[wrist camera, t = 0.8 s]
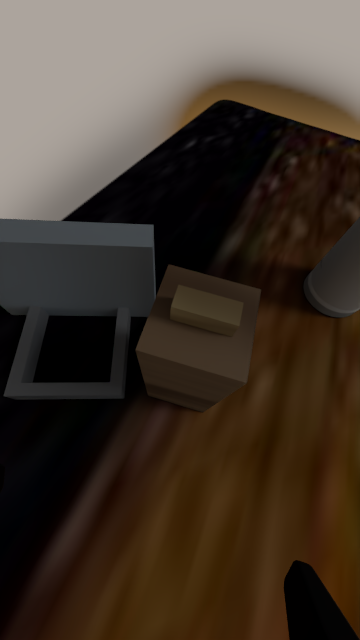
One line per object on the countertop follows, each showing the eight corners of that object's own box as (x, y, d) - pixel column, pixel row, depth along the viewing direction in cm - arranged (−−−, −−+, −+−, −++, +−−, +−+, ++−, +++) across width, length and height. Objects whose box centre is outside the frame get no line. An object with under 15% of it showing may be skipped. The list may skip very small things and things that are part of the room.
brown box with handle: (202, 412, 21) (256, 376, 9) (148, 395, 21) (132, 339, 10) (214, 359, 23) (270, 275, 12) (165, 344, 24) (169, 248, 12)
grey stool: (153, 398, 21) (147, 367, 12) (-16, 399, 20) (-155, 367, 11) (155, 299, 26) (153, 224, 17) (17, 297, 25) (-64, 216, 16)
